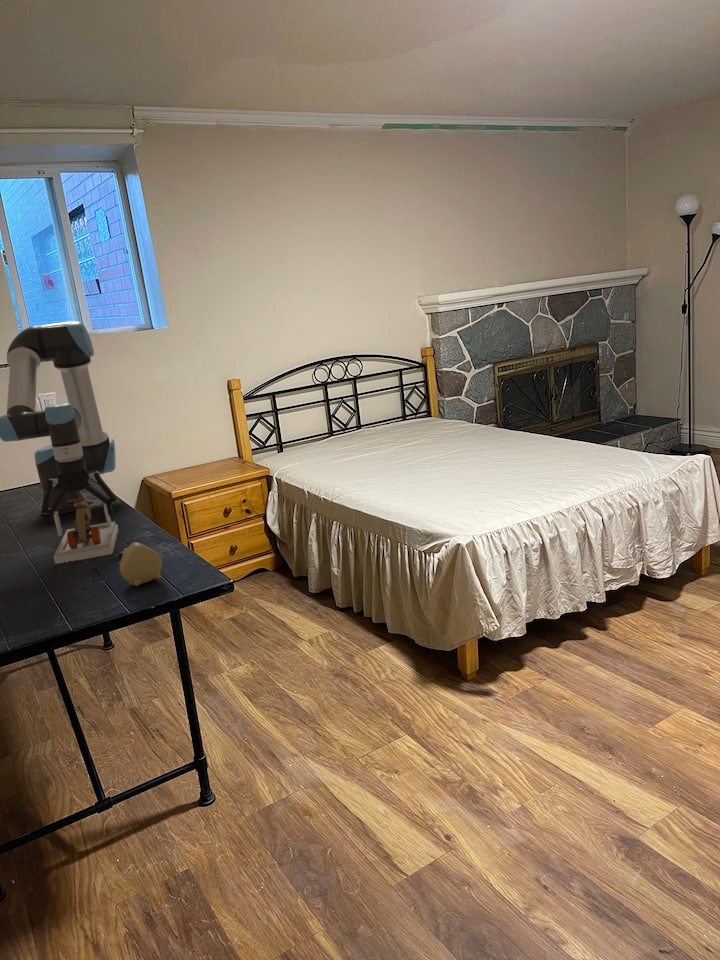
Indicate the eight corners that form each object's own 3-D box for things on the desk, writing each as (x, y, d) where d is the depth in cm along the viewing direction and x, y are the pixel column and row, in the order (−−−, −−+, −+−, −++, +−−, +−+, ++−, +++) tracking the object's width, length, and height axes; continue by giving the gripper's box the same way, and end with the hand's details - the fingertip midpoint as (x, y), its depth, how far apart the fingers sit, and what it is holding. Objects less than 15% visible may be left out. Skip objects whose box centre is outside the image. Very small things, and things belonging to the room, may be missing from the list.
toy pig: (154, 570, 178) (147, 530, 175) (171, 582, 168) (163, 541, 165) (116, 582, 172) (107, 541, 170) (130, 596, 163) (121, 553, 160)
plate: (67, 539, 213) (65, 529, 212) (118, 530, 216) (116, 521, 215) (55, 564, 191) (52, 554, 190) (112, 553, 194) (110, 543, 193)
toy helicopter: (69, 552, 193) (58, 504, 190) (76, 531, 212) (66, 487, 209) (100, 546, 195) (90, 499, 192) (104, 526, 215) (95, 483, 211)
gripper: (19, 468, 191) (37, 542, 196) (114, 454, 196) (129, 526, 201) (25, 463, 198) (41, 534, 203) (116, 449, 203) (130, 519, 208)
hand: (85, 530), depth 202 cm, fingers open, 13 cm apart
